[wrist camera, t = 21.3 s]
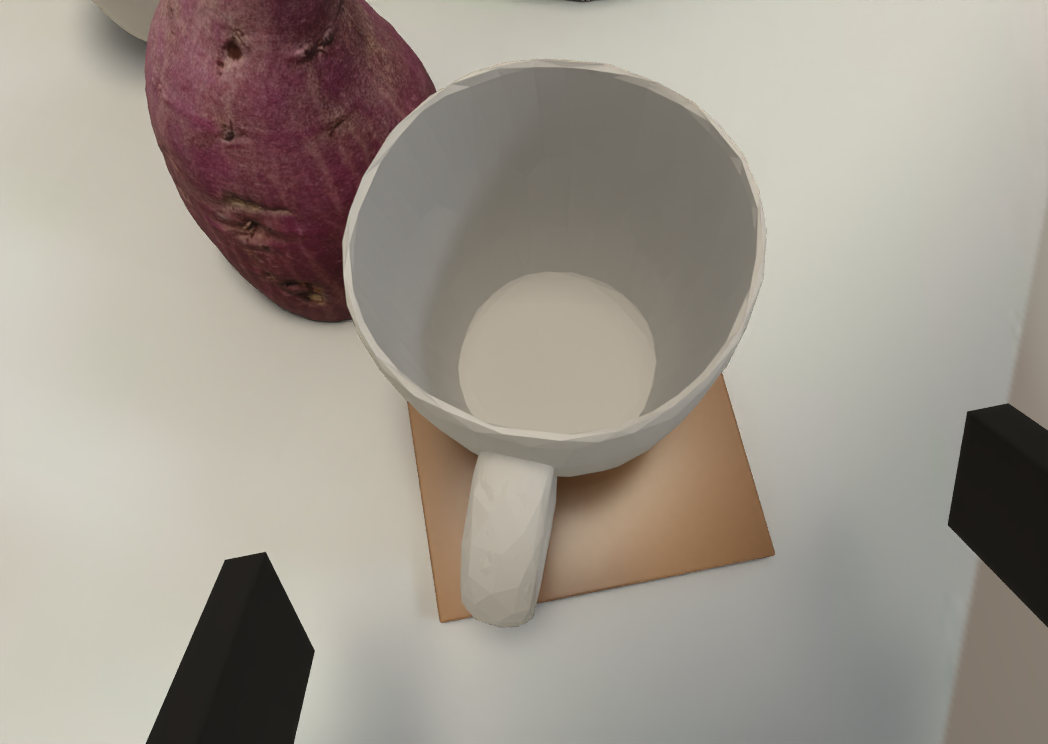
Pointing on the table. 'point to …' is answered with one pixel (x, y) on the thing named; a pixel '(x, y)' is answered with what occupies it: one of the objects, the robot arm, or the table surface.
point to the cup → (130, 14)
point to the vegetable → (277, 129)
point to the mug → (550, 286)
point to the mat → (613, 509)
